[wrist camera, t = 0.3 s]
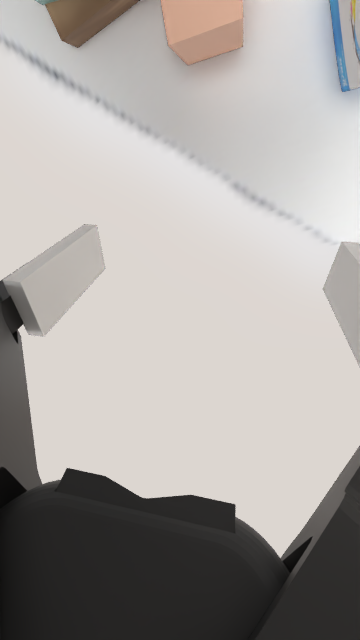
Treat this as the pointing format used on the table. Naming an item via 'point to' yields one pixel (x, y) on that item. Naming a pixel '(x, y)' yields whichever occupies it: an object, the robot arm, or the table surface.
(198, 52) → the tall block
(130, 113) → the table surface
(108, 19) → the block bottom
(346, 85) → the ink box
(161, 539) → the robot arm
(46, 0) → the block top
